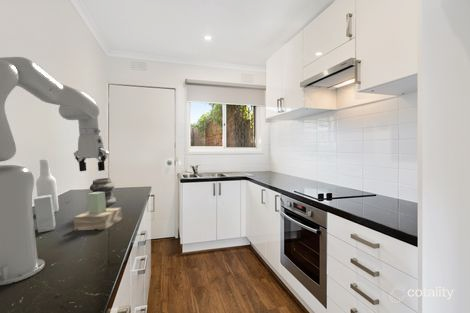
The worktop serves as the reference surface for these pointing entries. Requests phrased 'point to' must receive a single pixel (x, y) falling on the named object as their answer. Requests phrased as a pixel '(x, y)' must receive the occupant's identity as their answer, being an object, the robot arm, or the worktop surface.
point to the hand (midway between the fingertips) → (92, 170)
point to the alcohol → (47, 183)
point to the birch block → (97, 219)
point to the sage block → (96, 202)
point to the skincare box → (44, 213)
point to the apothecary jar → (104, 189)
